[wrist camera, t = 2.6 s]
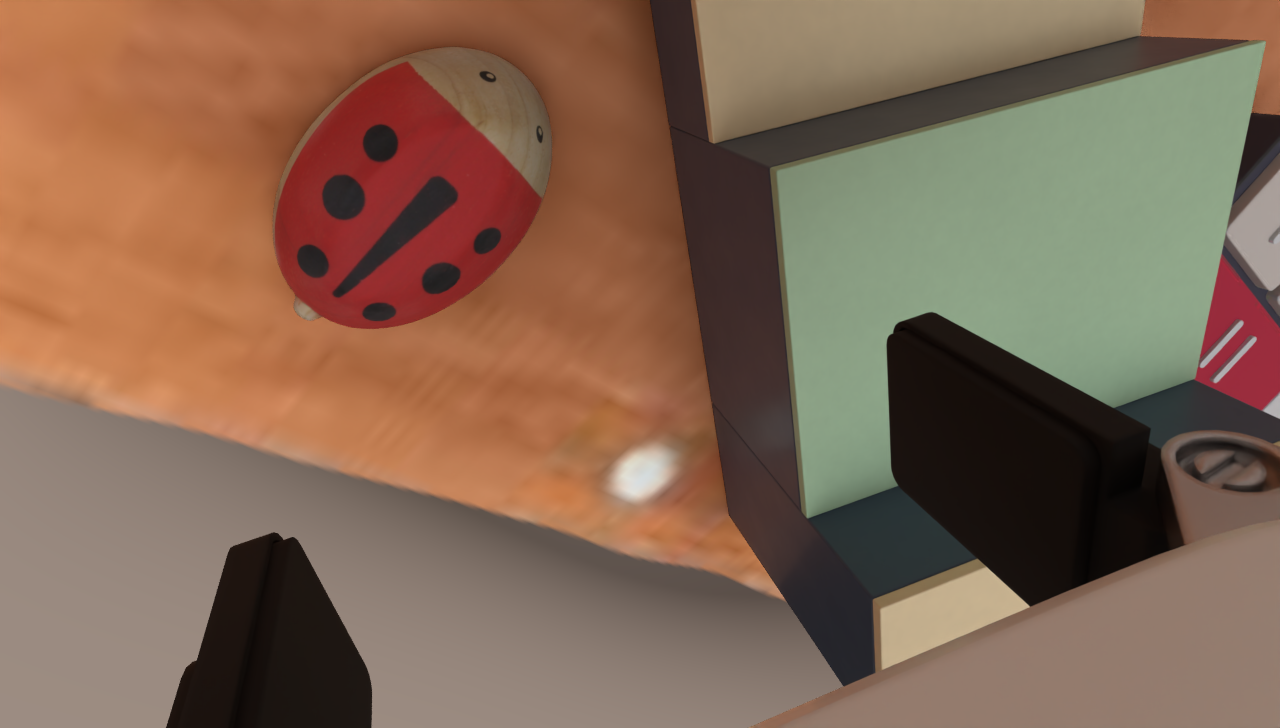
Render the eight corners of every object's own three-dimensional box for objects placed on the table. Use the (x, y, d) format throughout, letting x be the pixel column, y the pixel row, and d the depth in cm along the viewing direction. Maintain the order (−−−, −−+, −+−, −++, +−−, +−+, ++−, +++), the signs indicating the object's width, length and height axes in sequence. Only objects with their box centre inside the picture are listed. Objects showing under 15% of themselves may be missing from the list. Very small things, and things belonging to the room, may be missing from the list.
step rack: (637, -81, 22) (857, -161, 12) (1062, -162, 25) (1549, -286, 14) (728, 515, 33) (884, 749, 22) (1016, 414, 36) (1274, 581, 25)
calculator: (1325, 113, 28) (1442, 315, 35) (1218, 104, 32) (1342, 288, 38) (1120, 342, 30) (1268, 493, 37) (1042, 308, 34) (1188, 450, 40)
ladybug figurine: (594, 146, 24) (624, 166, 21) (401, 364, 26) (402, 412, 22) (428, -19, 21) (435, -23, 18) (215, 240, 22) (187, 277, 19)
